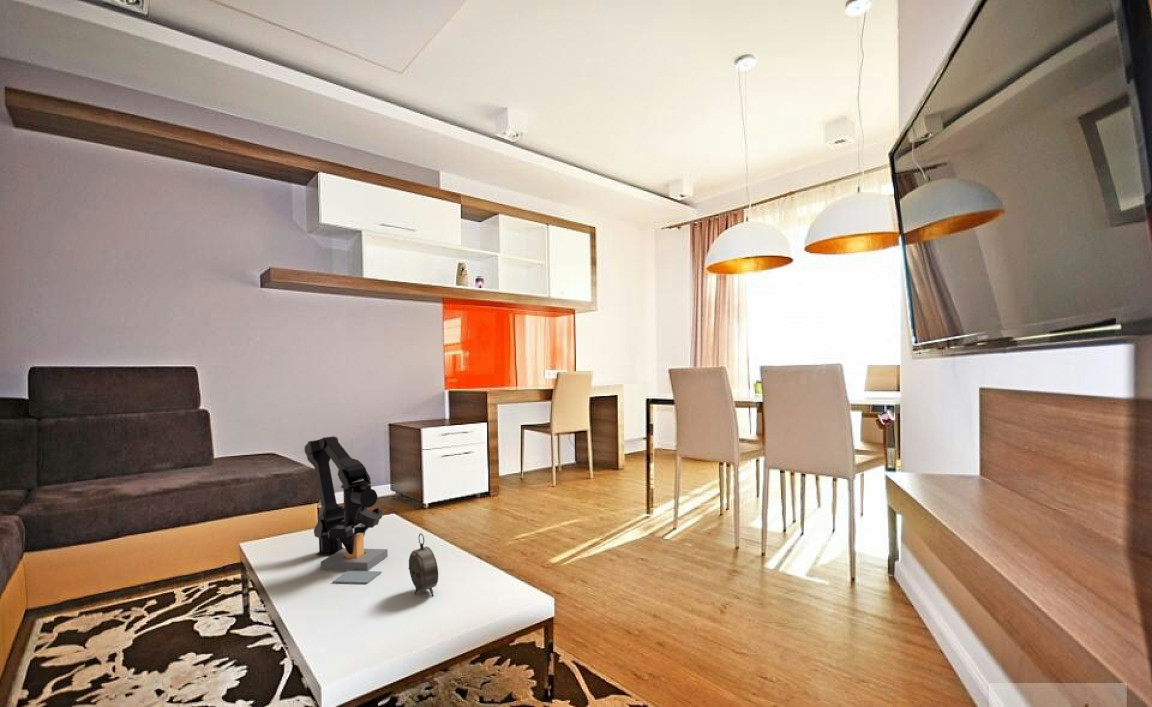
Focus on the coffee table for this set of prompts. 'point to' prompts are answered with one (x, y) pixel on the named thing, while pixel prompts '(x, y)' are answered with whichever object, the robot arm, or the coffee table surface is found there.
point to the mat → (357, 577)
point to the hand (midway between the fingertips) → (354, 551)
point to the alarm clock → (423, 568)
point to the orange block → (357, 547)
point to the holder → (354, 560)
